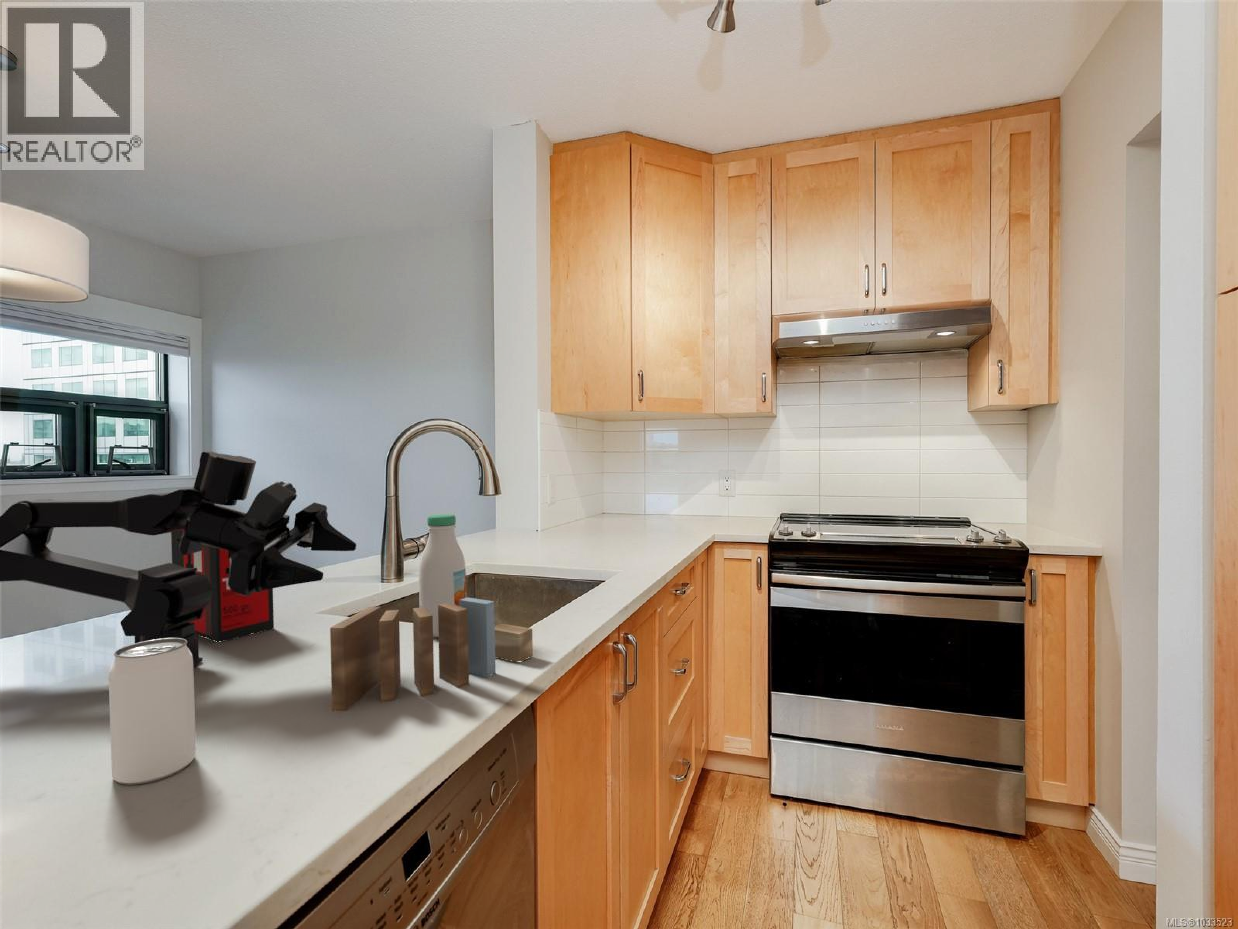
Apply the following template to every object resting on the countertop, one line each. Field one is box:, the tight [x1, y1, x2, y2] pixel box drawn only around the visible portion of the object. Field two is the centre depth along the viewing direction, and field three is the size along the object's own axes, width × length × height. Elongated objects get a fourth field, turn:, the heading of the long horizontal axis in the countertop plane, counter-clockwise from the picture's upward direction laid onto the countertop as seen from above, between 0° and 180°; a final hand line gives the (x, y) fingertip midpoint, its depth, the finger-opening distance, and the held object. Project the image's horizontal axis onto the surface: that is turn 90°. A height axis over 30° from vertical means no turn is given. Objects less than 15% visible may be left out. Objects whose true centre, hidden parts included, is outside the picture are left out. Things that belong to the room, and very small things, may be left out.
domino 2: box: [379, 609, 402, 703], centre depth 76 cm, size 2×5×10 cm, turn 12°
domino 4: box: [438, 603, 470, 689], centre depth 79 cm, size 2×5×10 cm, turn 44°
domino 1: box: [329, 606, 382, 712], centre depth 75 cm, size 2×10×10 cm, turn 176°
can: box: [108, 638, 196, 786], centre depth 58 cm, size 6×6×12 cm
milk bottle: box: [418, 514, 467, 638], centre depth 101 cm, size 8×8×20 cm
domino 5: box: [459, 596, 496, 678], centre depth 82 cm, size 2×5×10 cm, turn 60°
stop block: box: [495, 623, 534, 662], centre depth 89 cm, size 3×6×4 cm, turn 60°
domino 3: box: [412, 606, 435, 697], centre depth 77 cm, size 2×5×10 cm, turn 28°
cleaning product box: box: [170, 530, 275, 643], centre depth 105 cm, size 16×9×20 cm, turn 58°
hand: (339, 561), depth 85 cm, fingers open, 9 cm apart
